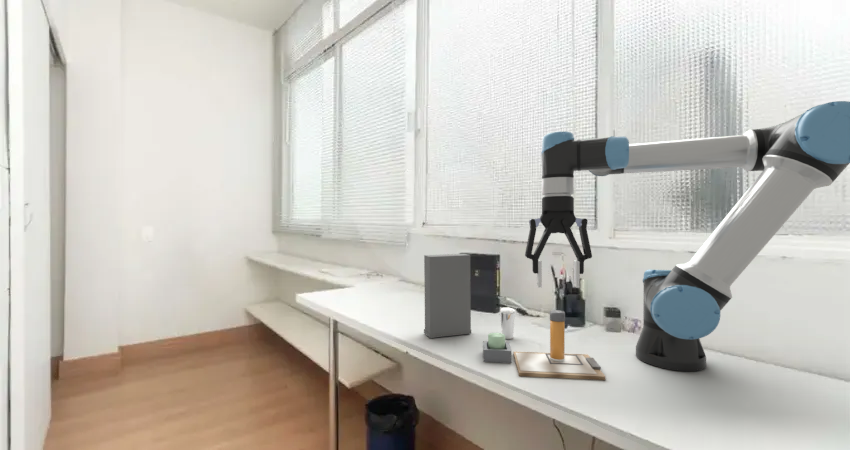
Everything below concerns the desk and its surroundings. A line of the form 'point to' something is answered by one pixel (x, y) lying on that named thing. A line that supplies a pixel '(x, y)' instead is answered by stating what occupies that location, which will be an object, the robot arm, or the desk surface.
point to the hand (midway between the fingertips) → (557, 286)
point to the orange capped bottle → (557, 335)
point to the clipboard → (557, 366)
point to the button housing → (496, 353)
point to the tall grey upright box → (447, 295)
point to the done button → (496, 341)
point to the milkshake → (507, 322)
